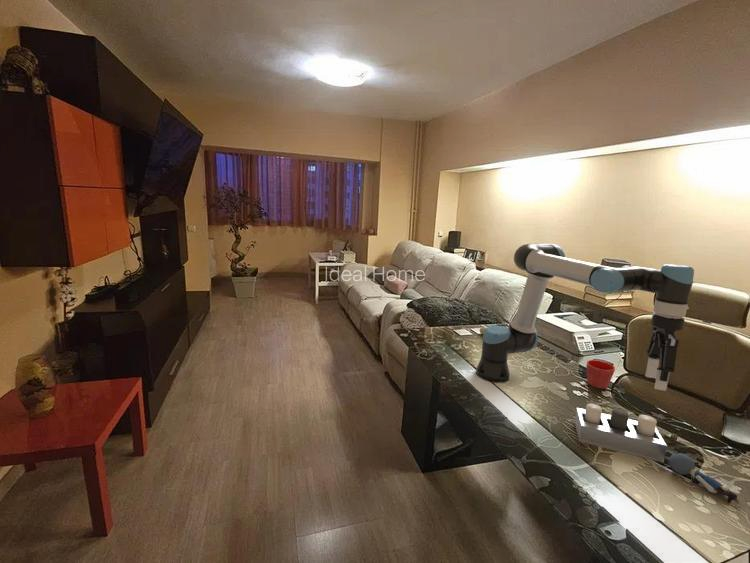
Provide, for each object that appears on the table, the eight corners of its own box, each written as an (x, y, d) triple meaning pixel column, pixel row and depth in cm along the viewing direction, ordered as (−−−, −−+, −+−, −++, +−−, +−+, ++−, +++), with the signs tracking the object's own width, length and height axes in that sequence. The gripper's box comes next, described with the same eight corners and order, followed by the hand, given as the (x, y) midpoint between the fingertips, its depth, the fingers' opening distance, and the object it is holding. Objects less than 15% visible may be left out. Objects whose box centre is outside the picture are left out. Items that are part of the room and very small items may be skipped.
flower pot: (616, 391, 148) (620, 371, 147) (589, 388, 151) (592, 368, 149) (605, 380, 159) (608, 361, 157) (580, 377, 161) (583, 358, 159)
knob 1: (585, 424, 116) (587, 408, 115) (583, 417, 120) (585, 402, 119) (600, 428, 114) (603, 412, 113) (598, 421, 118) (600, 405, 117)
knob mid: (610, 430, 113) (613, 414, 112) (607, 423, 117) (610, 407, 116) (627, 434, 111) (630, 418, 110) (623, 426, 115) (626, 411, 114)
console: (578, 441, 114) (581, 425, 113) (574, 422, 125) (576, 407, 124) (663, 462, 105) (667, 445, 104) (650, 440, 116) (654, 424, 115)
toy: (731, 506, 93) (668, 463, 105) (743, 488, 92) (679, 447, 104) (722, 509, 89) (659, 464, 102) (735, 490, 88) (669, 447, 101)
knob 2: (638, 437, 110) (641, 420, 109) (634, 429, 114) (637, 413, 113) (655, 441, 108) (659, 424, 107) (650, 433, 112) (654, 416, 111)
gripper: (700, 326, 92) (683, 401, 97) (670, 308, 111) (658, 372, 116) (666, 322, 95) (651, 395, 100) (643, 305, 114) (631, 367, 119)
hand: (655, 382), depth 108 cm, fingers open, 8 cm apart
